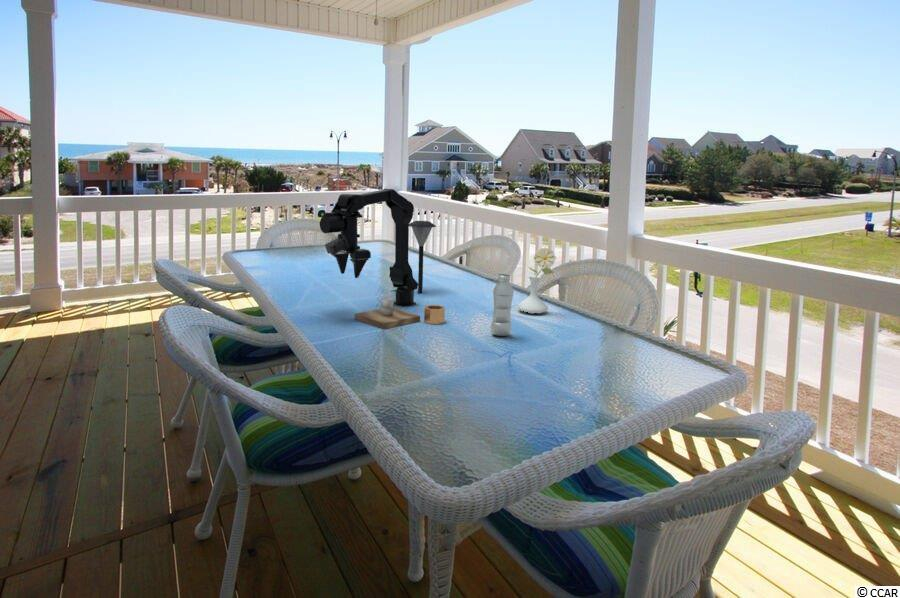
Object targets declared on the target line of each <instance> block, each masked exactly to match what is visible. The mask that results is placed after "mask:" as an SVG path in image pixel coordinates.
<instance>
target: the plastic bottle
mask: <svg viewBox="0 0 900 598" xmlns="http://www.w3.org/2000/svg"><path fill="white" fill-rule="evenodd" d="M510 281H511V274H507V273H499V274H498V275H497V284H495V286H494V287H493V290H492V291H493V292H492V295H493V312H492V313H493V315H492V320H491V325H490V332H491V334H492V335H493V336H498V337H506V336H509V335H510V334H511V331H512V321H511V319H512V318H511V317H512V316H511V315H512V314H511V311H512V309H511V308H512V302H513V299H514V298H513V297H514V293H515V291H514V288H513V286H512V284H511V283H510Z"/></svg>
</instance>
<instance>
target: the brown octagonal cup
mask: <svg viewBox="0 0 900 598" xmlns="http://www.w3.org/2000/svg"><path fill="white" fill-rule="evenodd" d="M445 310H446V307H445V306H444V305H439V304H428V305H425V306H424V314H423V315H424V316H423V317H424V318H423V322H424V323H426V324H429V325H440V324H445V317H446V316H445V315H446V314H445V312H446V311H445Z"/></svg>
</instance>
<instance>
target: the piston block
mask: <svg viewBox="0 0 900 598" xmlns="http://www.w3.org/2000/svg"><path fill="white" fill-rule="evenodd" d="M381 301H382V303H381V304H382V307H381V308H379V309H373V310H368V311H367V310H366V311H363V312H358V313H354V320H355V321H359V322H362V323H365V324H367V325H371V326H373V327H375V328H379V329H382V330H387V329H392V328H396V327H400V326H406V325H411V324H415V323H419V322H421V315H419V314H415V313H412V312H408V311H405V310H402V309H399V308H396V307H394V299H393V298H390V297H386V298H385V297H384V298H382V300H381Z"/></svg>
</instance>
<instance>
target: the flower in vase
mask: <svg viewBox="0 0 900 598" xmlns="http://www.w3.org/2000/svg"><path fill="white" fill-rule="evenodd" d="M532 259H533V260H534V262H535V265H537V266H539V267H541V268H540V270H539V272H538V271H537V270H535V269H533V268H531V267H530V266H528V268H529V270H531V271H532V272H535V273H536V274H531V275H527V276H528V279H529V281H530V287H531V288H530V293H529V296H528V297H526V298H525V299H523V300H522V301H521V302H520V303H519V304H518V305H517V309H518V310H519V311H521V312H523V311H524V312H523V313H526V312H528V313H527V314H534V313H537V314H543V313H542V312H544V313H546V312H548V310H549V307H548V305H547V304H546V303H545V302H544V301H543V300H542V299H540V297H539V296H538V286H539V282H540V280H541V279H542V276H541V275H539V274H540V273H541V272H542V273H543V274H544V275H551V274H553V273H554V272H553V270H552V269H550V267H551V266H554V263H555V261H556V259H557V258H556V255H555V253H554V250H553V249H550V248H549V247H545V246H544V247H540V248H539V249H536V251H535V253H534V256H533V258H532Z"/></svg>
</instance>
